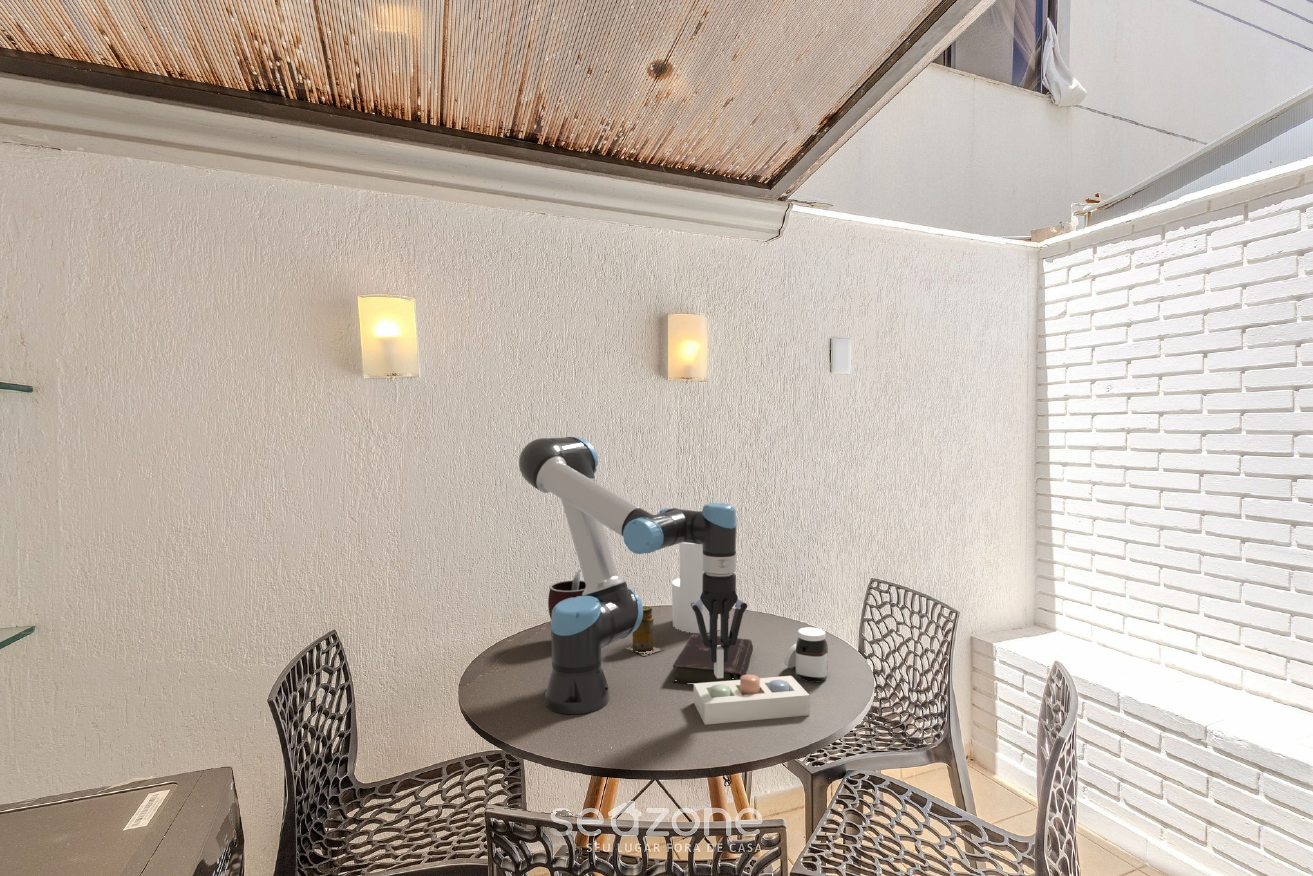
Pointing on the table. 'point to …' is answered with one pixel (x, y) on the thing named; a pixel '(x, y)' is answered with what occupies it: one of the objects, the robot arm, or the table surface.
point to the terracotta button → (749, 684)
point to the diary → (700, 668)
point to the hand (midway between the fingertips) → (718, 675)
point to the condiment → (644, 633)
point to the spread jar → (809, 655)
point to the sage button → (720, 691)
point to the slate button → (779, 686)
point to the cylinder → (689, 590)
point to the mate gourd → (565, 591)
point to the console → (751, 702)
